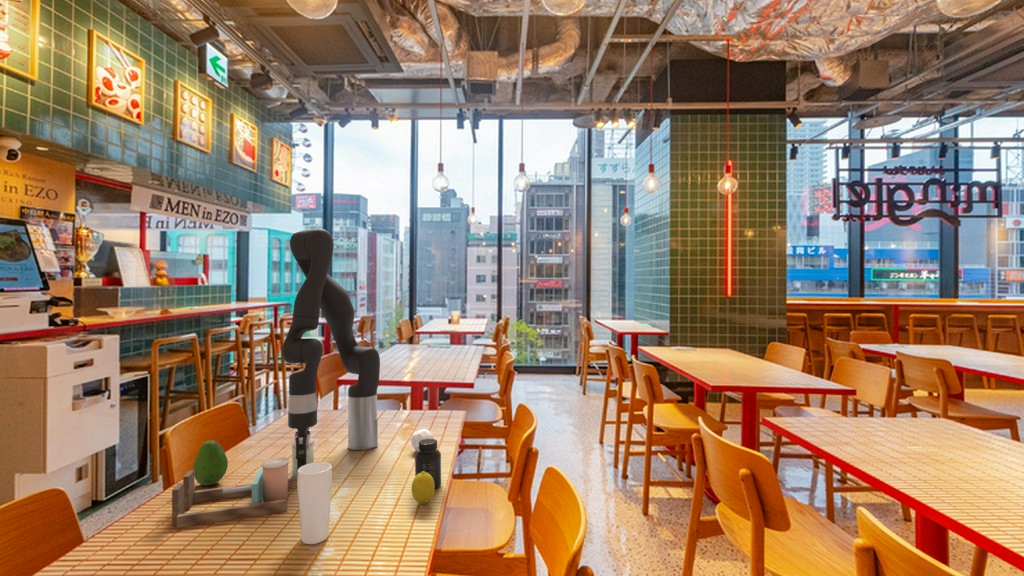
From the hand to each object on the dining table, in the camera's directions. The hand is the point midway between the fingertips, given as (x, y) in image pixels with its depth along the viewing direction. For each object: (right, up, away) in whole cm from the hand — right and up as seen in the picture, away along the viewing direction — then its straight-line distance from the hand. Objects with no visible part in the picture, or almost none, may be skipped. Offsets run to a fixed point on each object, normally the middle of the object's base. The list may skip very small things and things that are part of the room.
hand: (302, 467), depth 133 cm
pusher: (-7, -2, -19) cm, 20 cm away
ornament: (+30, -3, +20) cm, 36 cm away
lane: (-7, -2, -19) cm, 20 cm away
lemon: (+38, -2, -18) cm, 42 cm away
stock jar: (0, -2, -16) cm, 16 cm away
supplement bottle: (+37, -2, -8) cm, 38 cm away
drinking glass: (+18, -2, -34) cm, 38 cm away
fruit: (-22, -3, -6) cm, 23 cm away
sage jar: (0, -2, 0) cm, 2 cm away
